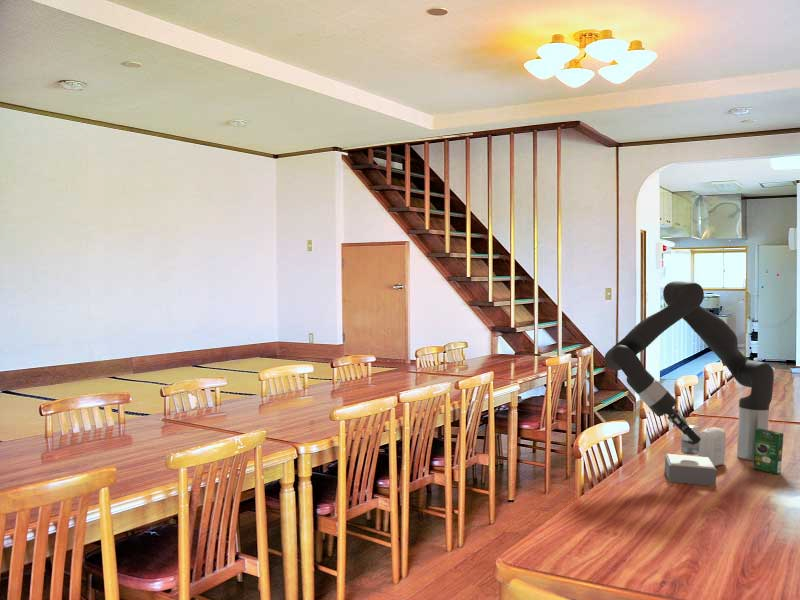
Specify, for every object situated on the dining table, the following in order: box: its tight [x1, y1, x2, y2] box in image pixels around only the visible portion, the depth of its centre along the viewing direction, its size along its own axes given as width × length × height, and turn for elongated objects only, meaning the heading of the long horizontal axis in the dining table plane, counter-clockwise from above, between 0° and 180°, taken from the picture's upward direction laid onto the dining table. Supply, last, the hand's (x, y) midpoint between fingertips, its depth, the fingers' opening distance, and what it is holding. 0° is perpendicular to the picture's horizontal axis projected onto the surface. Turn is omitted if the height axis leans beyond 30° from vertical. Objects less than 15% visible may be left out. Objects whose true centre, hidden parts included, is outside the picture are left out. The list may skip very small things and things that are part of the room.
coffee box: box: [752, 428, 784, 475], centre depth 223 cm, size 8×3×13 cm, turn 33°
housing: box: [680, 424, 701, 456], centre depth 214 cm, size 5×5×8 cm
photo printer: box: [698, 426, 727, 467], centre depth 230 cm, size 10×4×12 cm, turn 123°
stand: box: [664, 453, 717, 487], centre depth 214 cm, size 13×13×6 cm
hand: (696, 439), depth 213 cm, fingers closed on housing, 5 cm apart
